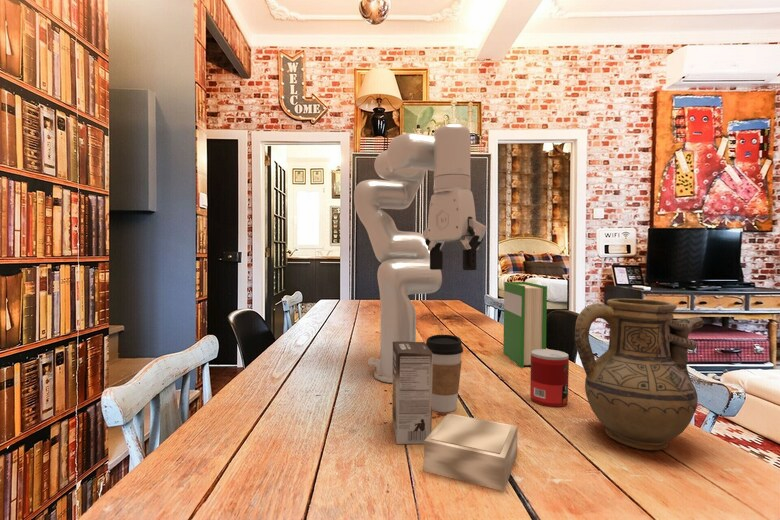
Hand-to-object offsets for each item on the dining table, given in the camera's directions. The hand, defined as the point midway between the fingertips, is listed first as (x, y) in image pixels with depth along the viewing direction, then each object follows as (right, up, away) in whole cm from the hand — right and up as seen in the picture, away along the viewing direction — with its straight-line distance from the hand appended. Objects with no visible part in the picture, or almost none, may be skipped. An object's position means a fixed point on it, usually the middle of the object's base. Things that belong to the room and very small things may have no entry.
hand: (452, 269), depth 85 cm
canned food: (+23, -30, +8) cm, 39 cm away
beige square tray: (0, -31, -19) cm, 36 cm away
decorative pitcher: (+32, -31, -10) cm, 45 cm away
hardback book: (+29, -30, +45) cm, 61 cm away
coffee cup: (-1, -30, +4) cm, 30 cm away
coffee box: (-9, -30, -9) cm, 33 cm away
